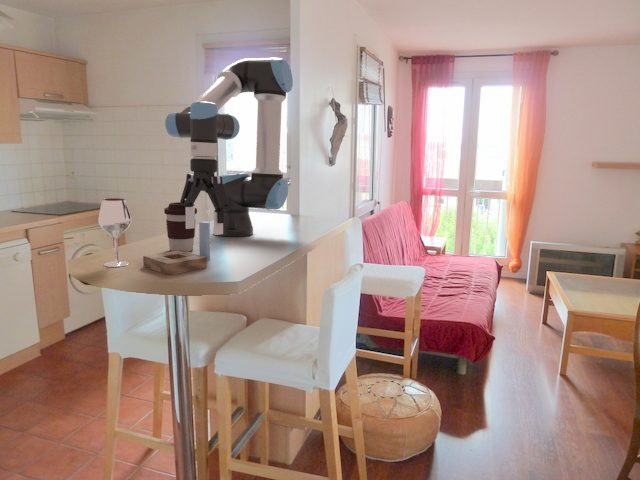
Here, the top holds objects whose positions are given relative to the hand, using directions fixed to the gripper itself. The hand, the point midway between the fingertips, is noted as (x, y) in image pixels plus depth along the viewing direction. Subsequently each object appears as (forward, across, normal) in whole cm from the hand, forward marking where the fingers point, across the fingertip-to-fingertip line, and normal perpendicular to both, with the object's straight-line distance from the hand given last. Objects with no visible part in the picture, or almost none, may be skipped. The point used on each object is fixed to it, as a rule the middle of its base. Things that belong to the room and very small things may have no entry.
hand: (203, 231), depth 141 cm
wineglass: (+9, -10, -22) cm, 25 cm away
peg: (+8, 0, 0) cm, 8 cm away
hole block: (+9, +3, -12) cm, 15 cm away
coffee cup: (+8, -15, +2) cm, 18 cm away
